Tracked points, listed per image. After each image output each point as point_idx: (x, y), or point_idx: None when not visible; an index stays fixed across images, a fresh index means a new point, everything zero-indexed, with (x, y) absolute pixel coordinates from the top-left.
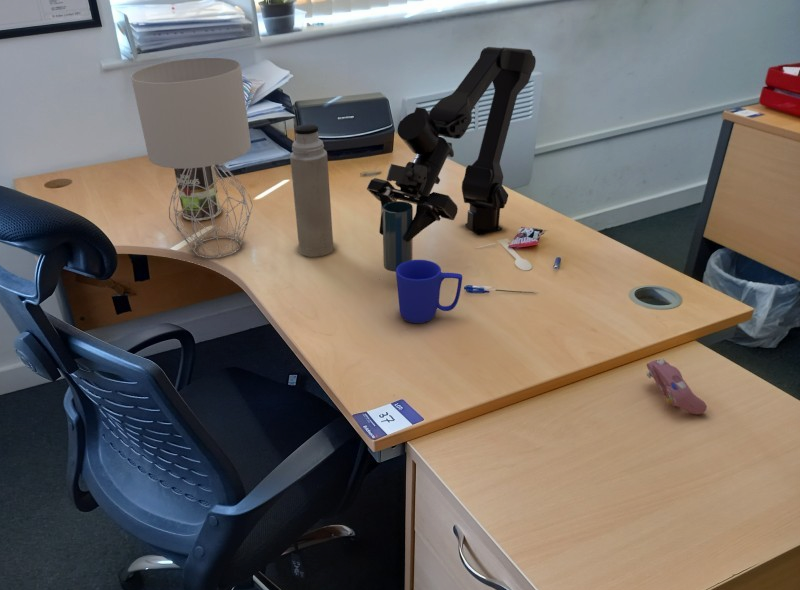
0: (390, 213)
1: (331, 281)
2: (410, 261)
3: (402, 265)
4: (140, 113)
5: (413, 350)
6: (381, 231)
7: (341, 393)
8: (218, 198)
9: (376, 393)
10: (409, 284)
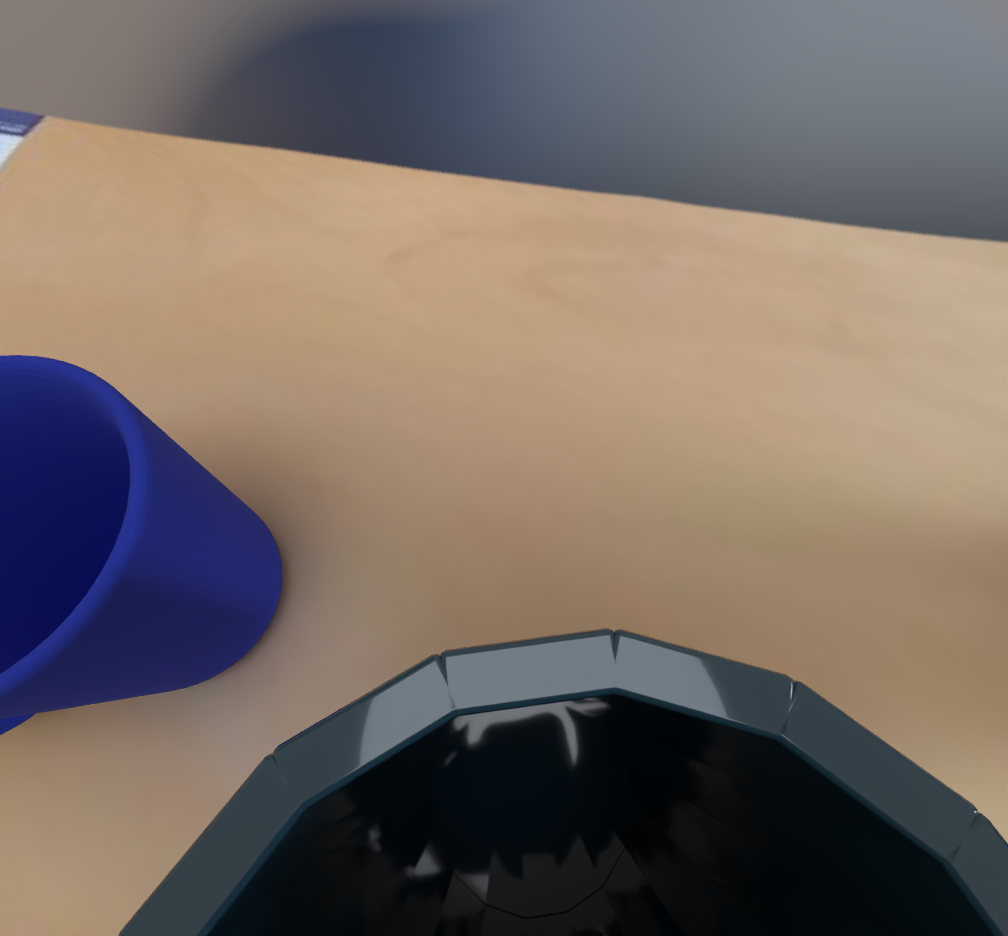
0: (415, 665)
1: (781, 500)
2: (98, 580)
3: (129, 489)
4: None
5: None
6: None
7: (134, 134)
8: None
9: (43, 190)
10: None
